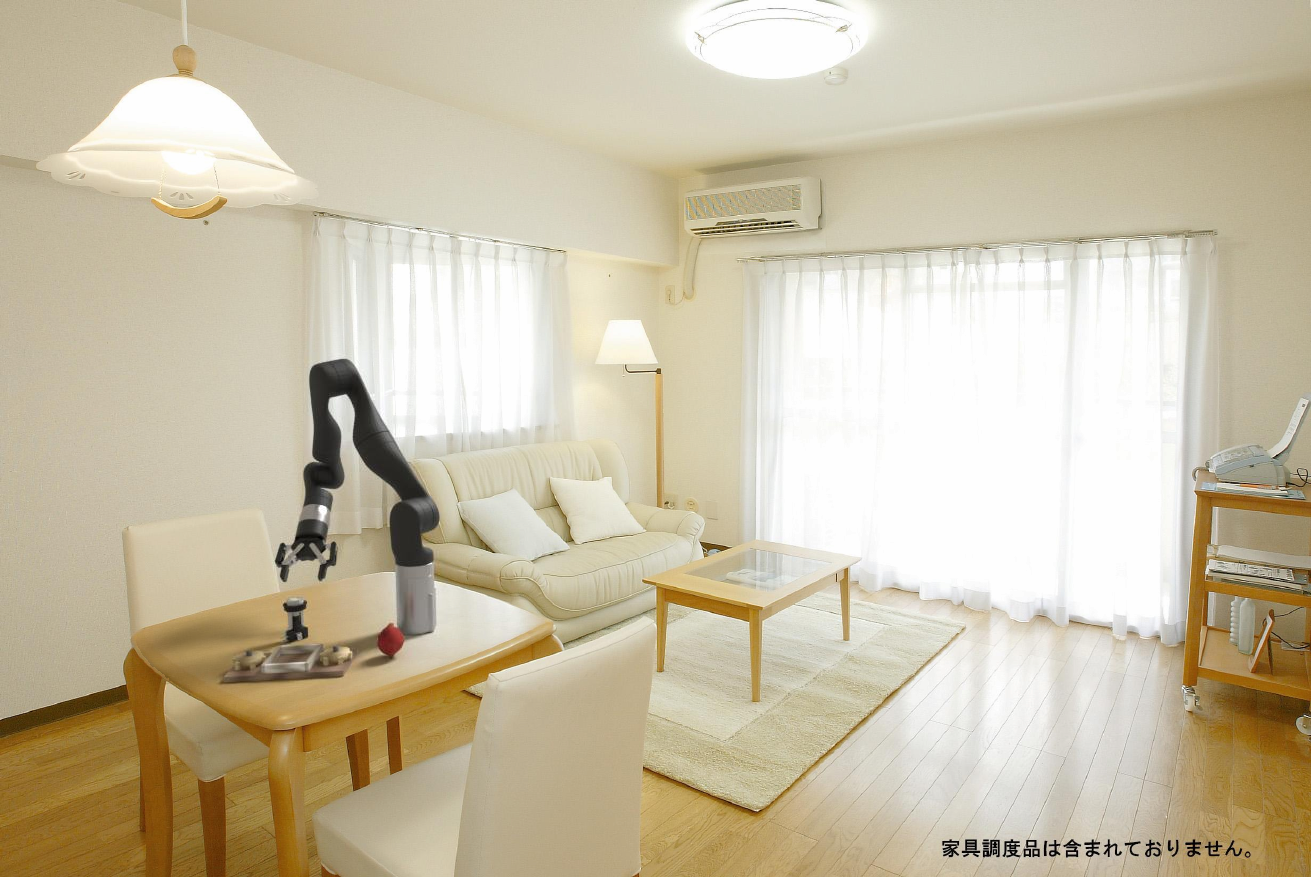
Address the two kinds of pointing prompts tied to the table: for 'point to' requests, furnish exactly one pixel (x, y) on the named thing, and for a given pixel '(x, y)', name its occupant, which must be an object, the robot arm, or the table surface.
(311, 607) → the table surface
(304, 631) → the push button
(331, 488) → the robot arm
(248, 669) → the gear board
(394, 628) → the onion
